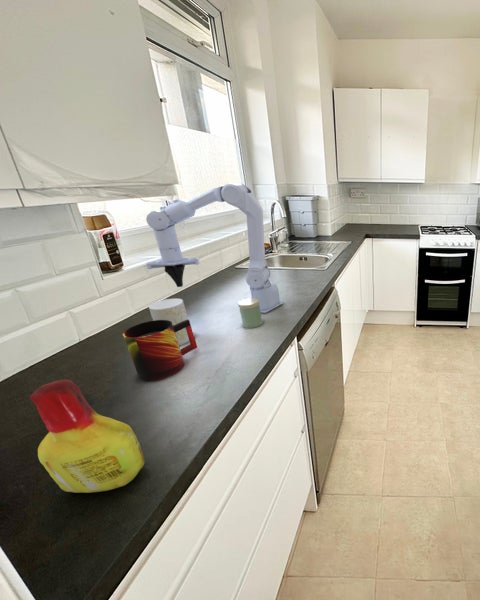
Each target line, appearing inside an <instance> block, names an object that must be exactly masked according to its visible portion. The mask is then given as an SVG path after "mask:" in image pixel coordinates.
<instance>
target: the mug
mask: <svg viewBox="0 0 480 600" xmlns="http://www.w3.org/2000/svg"><path fill="white" fill-rule="evenodd" d="M184 328H186V331H187V334H188V338H189V344H188V345H186V346H184V347H183V348H180V345H179V344H178V341H177V338H176V334H175V332H177V331H179V330H181V329H184ZM122 336H123V339H124V342H125V344H126V347H127V350H128V352H129V355H130V358H131V361H132V364H133V366H134V369H135V371H136V373H137V376H138V379H139V380H141V381H142V382H156V381H160V380H164V379H167V378H170V377H172V376H174V375H176V374H177V373H179V372H180V371H182V370H183V369H184V367H185V361H184V358H183V356H185V355H186V354H188V353H190V352H192V351H194V350H196V349H198V344H197V342H196V337H195V334H194V332H193V329H192V325H191V321H190V319H188V320H185V321H182V322H180V323H178V324H176V325H172V322H171V321H168V320H154V321H153V320H149V321H144V322H141V323H138V324H135V325H133V326H131V327H129V328H127V329H125V330H124V331H123V332H122Z"/></svg>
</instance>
